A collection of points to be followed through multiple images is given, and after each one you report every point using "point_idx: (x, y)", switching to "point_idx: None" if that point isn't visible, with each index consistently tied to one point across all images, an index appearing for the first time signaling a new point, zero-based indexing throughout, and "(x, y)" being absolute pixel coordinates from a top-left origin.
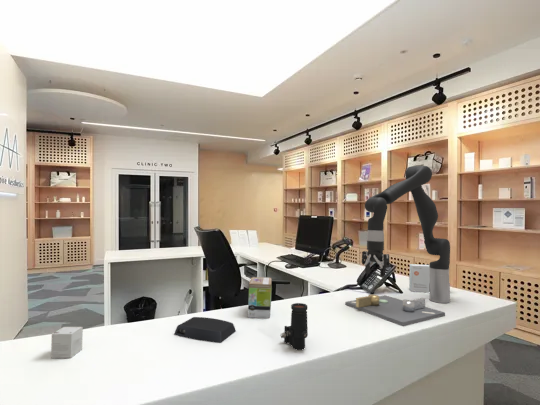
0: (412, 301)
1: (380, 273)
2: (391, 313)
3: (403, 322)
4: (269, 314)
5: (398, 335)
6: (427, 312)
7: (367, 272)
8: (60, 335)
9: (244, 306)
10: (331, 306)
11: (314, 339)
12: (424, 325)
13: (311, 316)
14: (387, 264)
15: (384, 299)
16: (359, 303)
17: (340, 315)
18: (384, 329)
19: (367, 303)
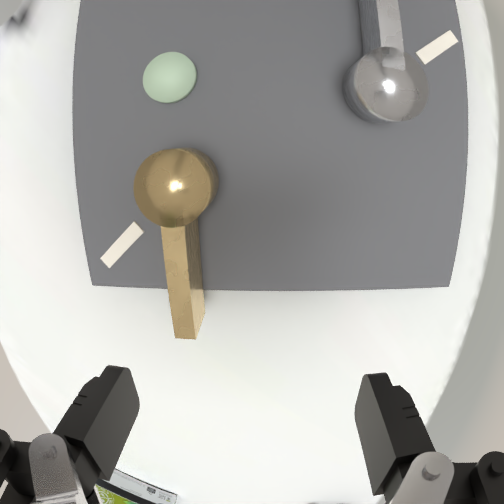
0: (408, 67)
1: (363, 442)
2: (358, 226)
3: (449, 283)
4: (175, 501)
5: (457, 355)
6: (436, 47)
7: (132, 408)
8: None
9: None
10: (107, 345)
11: (328, 491)
12: (482, 191)
13: (194, 449)
14: (491, 499)
15: (133, 32)
16: (200, 317)
17: (222, 392)
18: (411, 360)
19: (197, 252)
